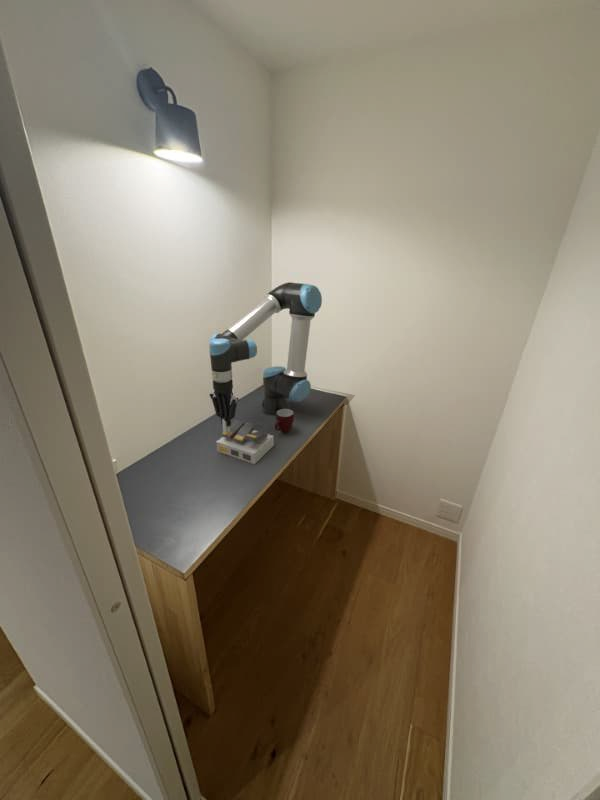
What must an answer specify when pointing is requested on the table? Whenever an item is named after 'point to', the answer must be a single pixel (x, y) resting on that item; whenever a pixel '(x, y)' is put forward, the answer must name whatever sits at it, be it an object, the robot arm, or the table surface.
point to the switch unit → (245, 448)
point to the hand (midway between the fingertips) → (226, 432)
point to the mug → (284, 420)
